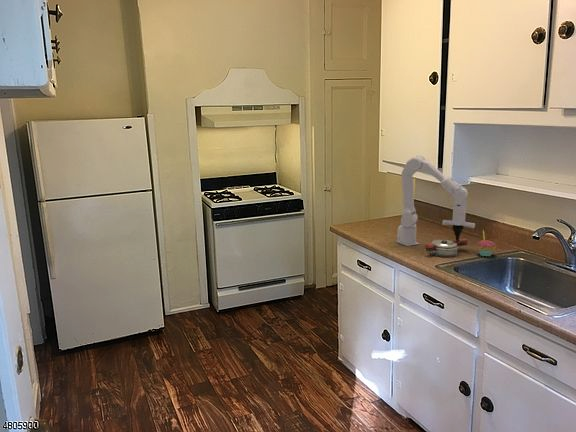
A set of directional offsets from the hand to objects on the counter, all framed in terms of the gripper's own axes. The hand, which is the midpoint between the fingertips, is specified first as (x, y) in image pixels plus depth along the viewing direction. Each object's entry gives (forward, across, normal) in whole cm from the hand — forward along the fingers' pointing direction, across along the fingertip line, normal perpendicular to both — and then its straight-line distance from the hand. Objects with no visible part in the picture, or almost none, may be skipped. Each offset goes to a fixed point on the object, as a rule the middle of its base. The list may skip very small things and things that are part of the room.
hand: (457, 240), depth 233 cm
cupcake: (+5, +14, -3) cm, 15 cm away
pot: (+4, -3, -8) cm, 9 cm away
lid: (0, -3, -8) cm, 8 cm away
